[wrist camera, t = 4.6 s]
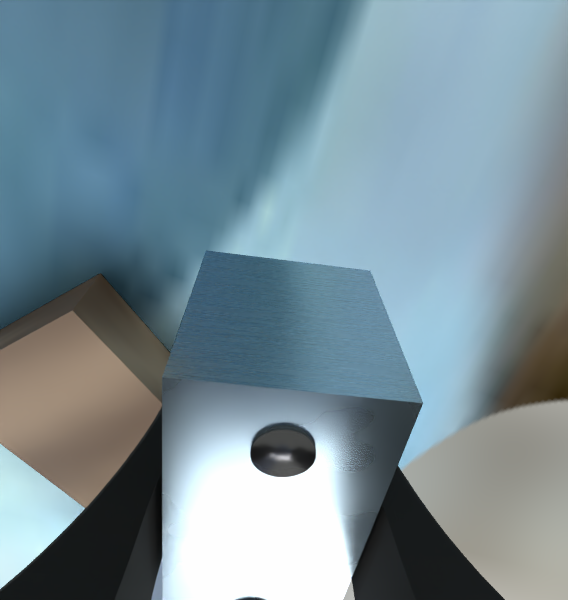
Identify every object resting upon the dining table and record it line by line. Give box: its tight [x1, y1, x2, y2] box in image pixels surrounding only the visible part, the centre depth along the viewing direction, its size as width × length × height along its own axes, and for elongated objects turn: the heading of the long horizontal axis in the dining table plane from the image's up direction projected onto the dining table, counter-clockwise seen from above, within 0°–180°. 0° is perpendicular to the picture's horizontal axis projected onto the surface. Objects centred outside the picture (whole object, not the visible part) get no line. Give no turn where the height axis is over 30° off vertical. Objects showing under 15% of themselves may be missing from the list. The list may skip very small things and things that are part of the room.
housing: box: [162, 251, 423, 600], centre depth 12 cm, size 4×9×5 cm, turn 172°
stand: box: [0, 274, 170, 508], centre depth 22 cm, size 13×8×3 cm, turn 29°
